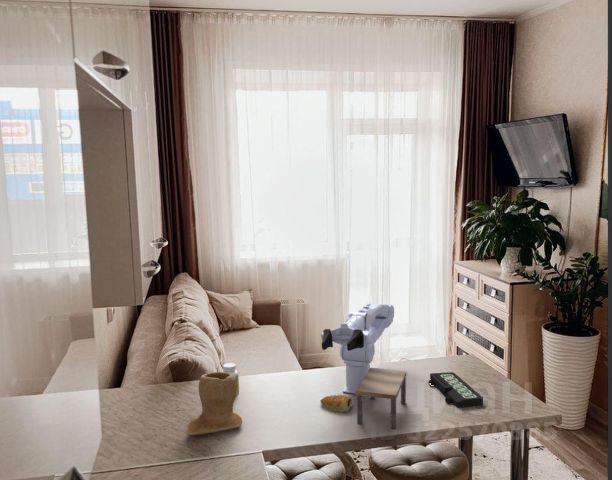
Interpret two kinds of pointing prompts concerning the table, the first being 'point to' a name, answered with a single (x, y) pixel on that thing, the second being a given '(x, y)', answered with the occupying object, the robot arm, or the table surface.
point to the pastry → (337, 403)
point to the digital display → (456, 390)
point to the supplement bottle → (231, 369)
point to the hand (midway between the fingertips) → (335, 346)
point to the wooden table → (382, 389)
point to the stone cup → (216, 404)
